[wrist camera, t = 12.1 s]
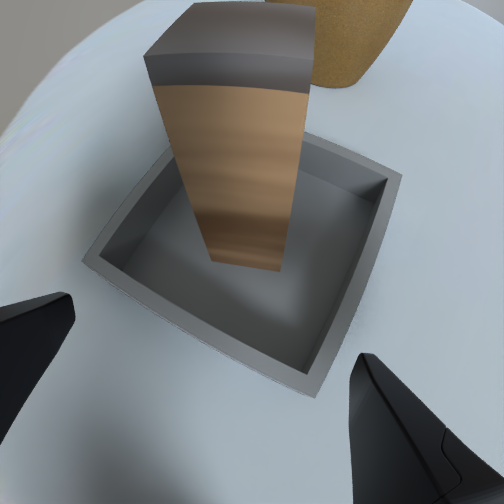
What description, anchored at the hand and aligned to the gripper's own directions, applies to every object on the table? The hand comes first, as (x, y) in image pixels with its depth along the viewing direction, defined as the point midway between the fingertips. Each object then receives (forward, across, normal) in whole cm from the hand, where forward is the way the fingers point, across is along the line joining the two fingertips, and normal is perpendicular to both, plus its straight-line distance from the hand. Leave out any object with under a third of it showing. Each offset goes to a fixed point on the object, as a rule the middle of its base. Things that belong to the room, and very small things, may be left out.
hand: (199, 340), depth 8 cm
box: (+11, 0, +1) cm, 11 cm away
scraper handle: (+11, 0, 0) cm, 11 cm away
